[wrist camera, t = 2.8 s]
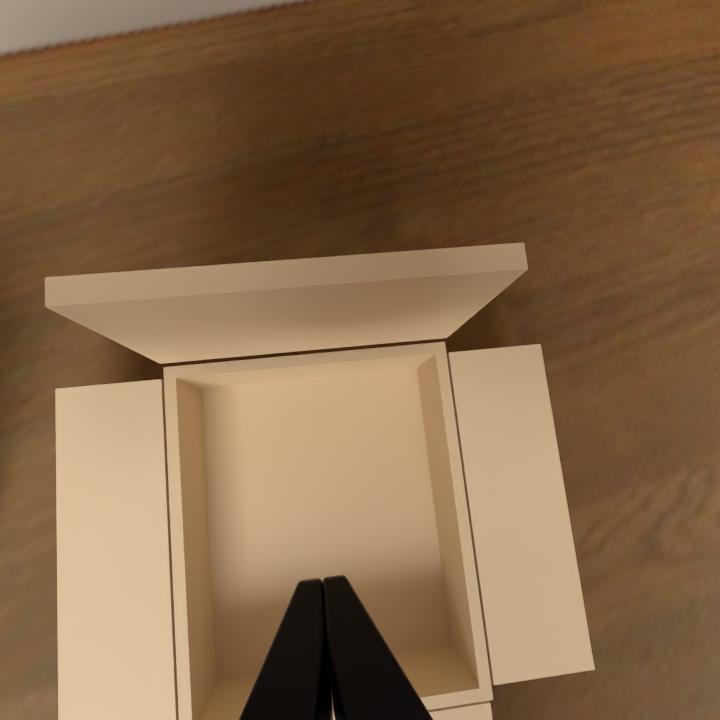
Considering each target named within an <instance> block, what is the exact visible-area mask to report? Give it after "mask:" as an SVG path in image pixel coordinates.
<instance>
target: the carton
mask: <svg viewBox="0 0 720 720" xmlns="http://www.w3.org/2000/svg"><path fill="white" fill-rule="evenodd" d="M447 360H448V361H447ZM163 371H164V380H162V379H157V380H146V381H136V382H125V383H114V384H103V385H93V386H82V387H71V388H60V389H55V393H56V501H57V608H58V716H59V720H239V718H240V715H241V713H242V711H243V708H244V706H245V704H246V701H247V699H248V697H249V694H250V692H251V690H252V687H253V685H254V683H255V681H256V678H257V676H258V674H259V671H260V669H261V667H262V664H263V662H264V660H265V657H266V655H267V653H268V650H269V648H270V646H271V644H272V641H273V639H274V637H275V634H276V632H277V630H278V627H279V625H280V623H281V620H282V618H283V616H284V613H285V611H286V609H287V607H288V604H289V602H290V600H291V597H292V595H293V593H294V590H295V588H296V586H297V584H298V582H299V581H301V580H306V579H313V578H320V579H321V580H322V582H323V579H324V578H325V577H328V576H336V575H344V576H346V577H347V579H348V580H349V582H350V584H351V585H352V587H353V589H354V590H355V592H356V593H357V595H358V597H359V598H360V600H361V602H362V603H363V605H364V607H365V608H366V610H367V612H368V613H369V615H370V616H371V618H372V620H373V621H374V623H375V625H376V626H377V628H378V630H379V631H380V633H381V635H382V636H383V638H384V639H385V641H386V643H387V644H388V646H389V648H390V649H391V651H392V653H393V654H394V656H395V658H396V659H397V661H398V662H399V664H400V666H401V667H402V669H403V671H404V672H405V674H406V676H407V677H408V679H409V681H410V682H411V684H412V685H413V687H414V689H415V690H416V692H417V694H418V695H419V697H420V699H421V700H422V702H423V704H424V705H425V707H426V708H427V710H428V712H429V713H430V715H431V717H432V718H433V720H493V719H492V711H491V704H490V702H489V700H493V693H492V686H491V682H492V683H493V685H500V684H506V683H512V682H519V681H525V680H532V679H538V678H544V677H551V676H557V675H564V674H570V673H576V672H583V671H589V670H595V668H594V662H593V656H592V650H591V644H590V638H589V632H588V626H587V620H586V614H585V608H584V602H583V596H582V590H581V584H580V578H579V572H578V566H577V560H576V554H575V548H574V542H573V536H572V530H571V524H570V518H569V512H568V506H567V500H566V494H565V488H564V482H563V476H562V470H561V464H560V458H559V452H558V446H557V440H556V434H555V428H554V422H553V415H552V409H551V403H550V397H549V391H548V385H547V379H546V373H545V367H544V361H543V355H542V349H541V344H535V345H524V346H513V347H502V348H492V349H481V350H470V351H459V352H449V353H447V354H446V346H445V342H437V343H425V344H414V345H403V346H392V347H381V348H370V349H359V350H348V351H337V352H326V353H315V354H304V355H293V356H282V357H271V358H260V359H249V360H238V361H227V362H216V363H205V364H194V365H183V366H172V367H163ZM449 375H450V376H449ZM450 382H451V383H450ZM451 390H452V391H451ZM452 397H453V398H452ZM454 412H455V413H454ZM455 419H456V420H455ZM456 427H457V428H456ZM457 434H458V435H457ZM458 441H459V442H458ZM459 449H460V450H459ZM460 456H461V457H460ZM462 471H463V472H462ZM463 478H464V479H463ZM464 486H465V487H464ZM465 493H466V494H465ZM466 500H467V501H466ZM467 508H468V509H467ZM468 515H469V516H468ZM469 523H470V524H469ZM470 530H471V531H470ZM471 537H472V538H471ZM472 545H473V546H472ZM473 552H474V553H473ZM475 567H476V568H475ZM476 574H477V575H476ZM477 582H478V583H477ZM322 584H323V583H322ZM478 589H479V590H478ZM479 596H480V597H479ZM480 604H481V605H480ZM481 611H482V612H481ZM482 619H483V620H482ZM483 626H484V627H483ZM484 633H485V634H484ZM485 641H486V642H485ZM486 648H487V649H486ZM488 663H489V664H488ZM489 670H490V671H489ZM490 678H491V679H490ZM332 706H333V700H332ZM333 720H335V717H334V709H333Z"/></svg>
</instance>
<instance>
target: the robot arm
mask: <svg viewBox="0 0 720 720" xmlns="http://www.w3.org/2000/svg"><path fill="white" fill-rule="evenodd" d="M322 583H323V584H322ZM332 700H333V706H332ZM333 709H334V717H335V720H433V718H432V717H431V715H430V713H429V712H428V710H427V708H426V707H425V705H424V704H423V702H422V700H421V699H420V697H419V695H418V694H417V692H416V690H415V689H414V687H413V685H412V684H411V682H410V681H409V679H408V677H407V676H406V674H405V672H404V671H403V669H402V667H401V666H400V664H399V662H398V661H397V659H396V658H395V656H394V654H393V653H392V651H391V649H390V648H389V646H388V644H387V643H386V641H385V639H384V638H383V636H382V635H381V633H380V631H379V630H378V628H377V626H376V625H375V623H374V621H373V620H372V618H371V616H370V615H369V613H368V612H367V610H366V608H365V607H364V605H363V603H362V602H361V600H360V598H359V597H358V595H357V593H356V592H355V590H354V589H353V587H352V585H351V584H350V582H349V580H348V579H347V577H346V576H344V575H336V576H328V577H325V578H324V579H323V582H322V580H321V579H320V578H313V579H306V580H301V581H299V582H298V584H297V586H296V588H295V590H294V593H293V595H292V597H291V600H290V602H289V604H288V607H287V609H286V611H285V613H284V616H283V618H282V620H281V623H280V625H279V627H278V630H277V632H276V634H275V637H274V639H273V641H272V644H271V646H270V648H269V650H268V653H267V655H266V657H265V660H264V662H263V664H262V667H261V669H260V671H259V674H258V676H257V678H256V681H255V683H254V685H253V687H252V690H251V692H250V694H249V697H248V699H247V701H246V704H245V706H244V708H243V711H242V713H241V715H240V718H239V720H333Z"/></svg>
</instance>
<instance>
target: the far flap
mask: <svg viewBox="0 0 720 720" xmlns="http://www.w3.org/2000/svg"><path fill="white" fill-rule="evenodd" d="M527 270H528V264H527V258H526V252H525V246H524V242H523V243H510V244H496V245H482V246H469V247H455V248H441V249H428V250H414V251H400V252H387V253H373V254H359V255H346V256H332V257H318V258H304V259H291V260H277V261H263V262H250V263H236V264H222V265H209V266H195V267H181V268H168V269H154V270H140V271H127V272H113V273H99V274H86V275H72V276H58V277H45V307H46V308H48V309H50V310H52V311H54V312H56V313H58V314H61V315H63V316H65V317H67V318H69V319H71V320H73V321H75V322H77V323H79V324H81V325H83V326H85V327H87V328H89V329H91V330H93V331H95V332H97V333H99V334H101V335H103V336H105V337H107V338H109V339H111V340H113V341H115V342H117V343H119V344H121V345H123V346H125V347H127V348H129V349H131V350H133V351H135V352H137V353H139V354H141V355H143V356H145V357H147V358H149V359H151V360H153V361H155V362H158V363H160V364H163V363H174V362H185V361H196V360H207V359H218V358H229V357H240V356H252V355H263V354H274V353H285V352H296V351H307V350H318V349H329V348H340V347H352V346H363V345H374V344H385V343H396V342H407V341H418V340H429V339H441V338H448V337H449V336H450V335H451V334H452V333H453V332H455V331H456V330H457V329H458V328H459V327H461V326H462V325H463V324H464V323H465V322H466V321H468V320H469V319H470V318H471V317H472V316H474V315H475V314H476V313H477V312H478V311H479V310H481V309H482V308H483V307H484V306H485V305H487V304H488V303H489V302H490V301H491V300H492V299H494V298H495V297H496V296H497V295H498V294H500V293H501V292H502V291H503V290H504V289H505V288H507V287H508V286H509V285H510V284H511V283H512V282H514V281H515V280H516V279H517V278H518V277H520V276H521V275H522V274H523V273H524V272H525V271H527Z"/></svg>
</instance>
